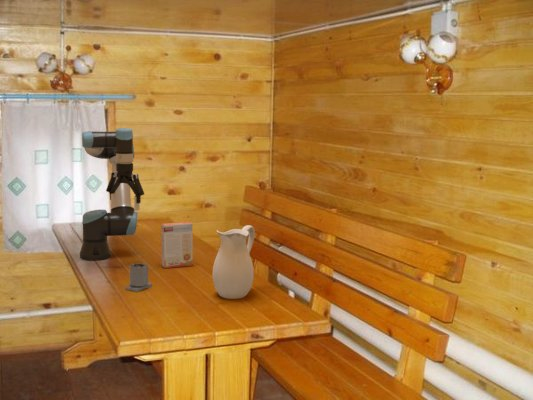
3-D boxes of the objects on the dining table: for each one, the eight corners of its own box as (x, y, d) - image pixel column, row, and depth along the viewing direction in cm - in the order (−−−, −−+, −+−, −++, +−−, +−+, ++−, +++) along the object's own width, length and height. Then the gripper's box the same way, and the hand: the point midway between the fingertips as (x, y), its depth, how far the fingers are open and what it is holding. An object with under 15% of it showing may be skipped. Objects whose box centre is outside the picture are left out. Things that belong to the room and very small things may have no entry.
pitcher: (238, 304, 252) (239, 235, 247) (203, 296, 261) (204, 229, 256) (269, 289, 272) (271, 225, 267) (237, 282, 281) (238, 220, 276)
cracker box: (189, 263, 311) (189, 221, 308) (192, 266, 306) (193, 223, 302) (161, 265, 306) (160, 222, 302) (164, 268, 300) (163, 225, 297)
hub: (126, 284, 268) (126, 266, 267) (137, 280, 275) (137, 262, 274) (140, 287, 265) (140, 268, 264) (151, 282, 271) (151, 264, 270)
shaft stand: (125, 289, 267) (125, 271, 266) (140, 283, 276) (140, 265, 275) (136, 291, 264) (136, 273, 263) (152, 285, 273) (151, 267, 272)
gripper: (97, 161, 292) (98, 207, 295) (141, 165, 280) (141, 212, 284) (109, 160, 298) (109, 205, 302) (151, 163, 287) (152, 210, 290)
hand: (125, 208), depth 293 cm, fingers open, 13 cm apart
